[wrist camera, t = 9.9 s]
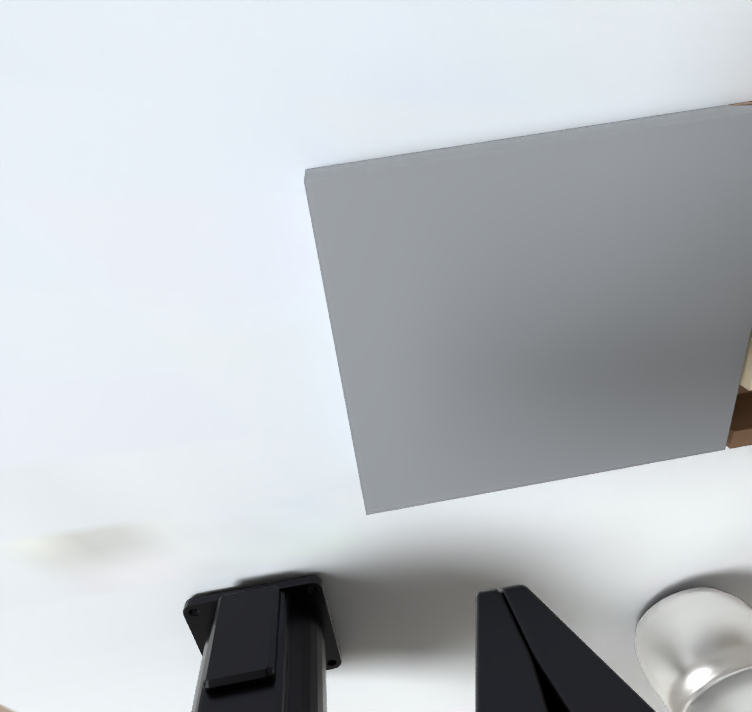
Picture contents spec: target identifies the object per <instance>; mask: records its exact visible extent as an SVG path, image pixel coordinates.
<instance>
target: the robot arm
mask: <svg viewBox="0 0 752 712" xmlns="http://www.w3.org/2000/svg"><path fill="white" fill-rule="evenodd" d="M183 615H184V617H185V619H186V621H187V624H188V626H189V628H190V630H191V632H192V634H193V637H194V639H195V641H196V643H197V645H198V648H199V650H200V652H201V654H202V661H201V666H200V671H199V676H198V681H197V686H196V691H195V696H194V701H193V706H192V711H191V712H327V691H326V670H330V669H334V668H337V667H339V666H340V664H341V652H340V648H339V644H338V640H337V636H336V633H335V629H334V625H333V621H332V617H331V613H330V610H329V606H328V602H327V598H326V594H325V590H324V586H323V583H322V580H321V579H320V578H319V577H317V576H307V577H302V578H297V579H291V580H286V581H280V582H275V583H270V584H264V585H259V586H254V587H248V588H243V589H238V590H232V591H227V592H221V593H216V594H211V595H205V596H200V597H195V598H191V599H189V600H187V601H186V603H185V606H184V610H183ZM476 712H655V711H654V710H653V709H652V708H651V707H650V706H649V705H648V704H647V703H646V702H645V701H644V700H643V699H642V698H641V697H640V696H639V695H638V694H637V693H636V692H635V691H634V690H633V689H632V688H631V687H630V686H629V685H627V684H626V683H625V682H624V681H623V680H622V679H621V678H620V677H619V676H618V675H617V674H616V673H615V672H614V671H613V670H612V669H611V668H610V667H609V666H608V665H607V664H606V663H605V662H604V661H603V660H602V659H601V658H600V657H599V656H597V655H596V654H595V653H594V652H593V651H592V650H591V649H590V648H589V647H588V646H587V645H586V644H585V643H584V642H583V641H582V640H581V639H580V638H579V637H578V636H577V635H576V634H575V633H574V632H573V631H572V630H571V629H570V628H569V627H568V626H566V625H565V624H564V623H563V622H562V621H561V620H560V619H559V618H558V617H557V616H556V615H555V614H554V613H553V612H552V611H551V610H550V609H549V608H548V607H547V606H546V605H545V604H544V603H543V602H542V601H541V600H540V599H539V598H538V597H536V596H535V595H534V594H533V593H532V592H531V591H530V590H529V589H528V588H527V587H526V586H524V585H513V586H508V587H503V588H501V589H500V591H499V590H498V589H490V590H485V591H479V592H477V593H476Z"/></svg>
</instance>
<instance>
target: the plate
mask: <svg viewBox="0 0 752 712" xmlns="http://www.w3.org/2000/svg"><path fill="white" fill-rule="evenodd" d="M304 184H305V190H306V195H307V200H308V206H309V211H310V216H311V222H312V227H313V232H314V238H315V243H316V248H317V254H318V259H319V264H320V270H321V275H322V280H323V286H324V291H325V296H326V302H327V307H328V312H329V318H330V323H331V328H332V334H333V339H334V344H335V350H336V355H337V360H338V366H339V371H340V376H341V382H342V387H343V392H344V398H345V403H346V408H347V414H348V419H349V424H350V430H351V435H352V440H353V446H354V451H355V457H356V462H357V467H358V473H359V478H360V483H361V489H362V494H363V499H364V505H365V510H366V515H369V514H374V513H380V512H385V511H391V510H396V509H402V508H407V507H413V506H418V505H424V504H429V503H435V502H440V501H446V500H451V499H457V498H462V497H468V496H473V495H479V494H484V493H490V492H495V491H501V490H506V489H512V488H517V487H523V486H528V485H533V484H539V483H544V482H550V481H555V480H561V479H566V478H572V477H577V476H583V475H588V474H594V473H599V472H605V471H610V470H616V469H621V468H627V467H632V466H638V465H643V464H649V463H654V462H660V461H665V460H671V459H676V458H682V457H687V456H693V455H698V454H703V453H709V452H714V451H720V450H725V448H726V443H727V438H728V434H729V429H730V425H731V420H732V415H733V411H734V406H735V402H736V397H737V393H738V388H739V383H740V379H741V374H742V370H743V365H744V360H745V356H746V351H747V347H748V342H749V337H750V333H751V328H752V105H725V106H716V107H710V108H703V109H697V110H690V111H684V112H677V113H671V114H664V115H658V116H651V117H645V118H638V119H632V120H625V121H619V122H612V123H606V124H599V125H593V126H586V127H579V128H573V129H566V130H560V131H553V132H547V133H540V134H534V135H527V136H521V137H514V138H508V139H501V140H495V141H488V142H482V143H475V144H469V145H462V146H455V147H449V148H442V149H436V150H429V151H423V152H416V153H410V154H403V155H397V156H390V157H384V158H377V159H371V160H364V161H358V162H351V163H345V164H338V165H332V166H325V167H318V168H312V169H305V177H304Z"/></svg>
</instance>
